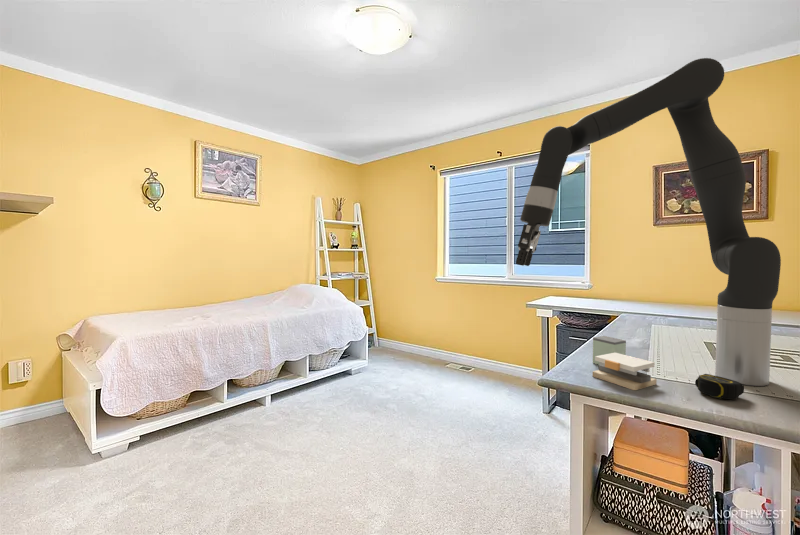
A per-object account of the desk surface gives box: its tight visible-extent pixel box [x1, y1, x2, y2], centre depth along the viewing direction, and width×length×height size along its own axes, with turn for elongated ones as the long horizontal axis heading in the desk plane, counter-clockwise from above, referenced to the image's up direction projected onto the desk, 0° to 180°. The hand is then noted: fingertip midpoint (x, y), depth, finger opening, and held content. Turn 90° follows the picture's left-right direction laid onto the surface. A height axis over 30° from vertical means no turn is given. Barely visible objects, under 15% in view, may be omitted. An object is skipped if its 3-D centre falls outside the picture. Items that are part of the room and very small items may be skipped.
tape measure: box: [694, 373, 745, 400], centre depth 75 cm, size 7×7×4 cm
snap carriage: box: [595, 353, 656, 375], centre depth 84 cm, size 8×9×2 cm
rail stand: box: [592, 365, 658, 391], centre depth 85 cm, size 8×10×2 cm
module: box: [592, 335, 627, 366], centre depth 96 cm, size 5×6×7 cm
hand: (522, 265), depth 98 cm, fingers open, 8 cm apart
